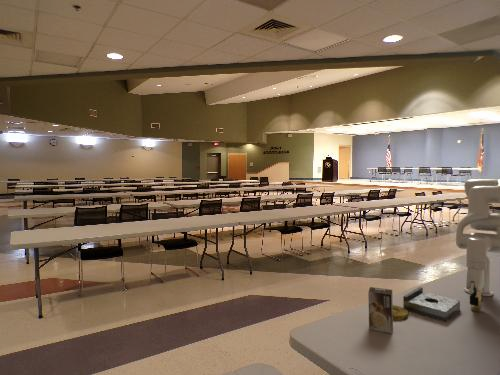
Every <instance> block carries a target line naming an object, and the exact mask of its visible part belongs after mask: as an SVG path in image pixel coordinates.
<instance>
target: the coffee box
mask: <svg viewBox="0 0 500 375" xmlns="http://www.w3.org/2000/svg"><path fill="white" fill-rule="evenodd" d="M367 293H368V297H367V298H368V330H372V331H377V332H382V333H388V334H393V331H394V320H393V305H394V303H393V290H392V289H387V288H380V287H373V286H370V287H369V289H368V292H367Z"/></svg>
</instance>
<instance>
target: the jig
mask: <svg viewBox="0 0 500 375" xmlns="http://www.w3.org/2000/svg"><path fill="white" fill-rule="evenodd" d="M423 289H424V288H423V287H422V286H418V287H417V288H415V289H413V290H411V291H409V292H408V293H406V294H405V295H403V303H402V304H403V305H402V306H403V307H402V308H404V309H406V310H407V311H408V313H409V312H410V313H413V314H417V315H420V316H423V317H426V318H430V319H434V320H437V321H439V322H444V323H447V322H448V321H450V319H451V318H452V317H454V316H455V315H456V314H458V313H459V311H461V300H459V299H455V298H450V297H446V296H443V295H438V294H434V293H430V292H427V291H424V290H423Z"/></svg>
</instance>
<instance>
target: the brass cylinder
mask: <svg viewBox="0 0 500 375" xmlns="http://www.w3.org/2000/svg"><path fill="white" fill-rule="evenodd" d="M474 290H476V289H474ZM474 292H475V291H474ZM475 294H476V292H475ZM470 311H472V312H474V313H481V312H482V303H481V290H479V291H478V306H474V305H470Z"/></svg>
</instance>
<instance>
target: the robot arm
mask: <svg viewBox="0 0 500 375" xmlns="http://www.w3.org/2000/svg"><path fill="white" fill-rule="evenodd" d="M464 192H465V195H466V198H467V200H468V201H467V202H468V205H467V214H466V215H465V216H464V217H463V218H461V219H460V221H459V223H458V224H457V227H456V233H455V243H456V246H457V247H458V249H461V250H466V268H467V270H466V271H467V273H466V285H465V287H464V291H465V292H466V293H468V294H469V305H470V306H471V305H474V306H478V291H479V290H481V304H482V303H483V297H492V296H493V295H494V291H493V290H491V288H490V284H491V281H490V280H491V279H490V277H491V271H490V270H491V268H490V267H491V262H490V260H491V259H490V258H489V256H488V255H487V253H494V254H500V213H496V212H495V213H494V212H493V213H491V212H490V204H500V179H497V178H496V179H495V178H494V179H492V178H489V179H488V178H487V179H485V178H484V179H483V178H481V179H480V178H474V179H468V180H466V181H465V182H464ZM467 226H470V228H471V229H472V230H474V231H479V232H471V233H464V230H465V228H466V227H467ZM480 231H481V232H480ZM485 232H494V233H485ZM474 289H476V290H474ZM474 291H475V292H476V294H475V292H474Z"/></svg>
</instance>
